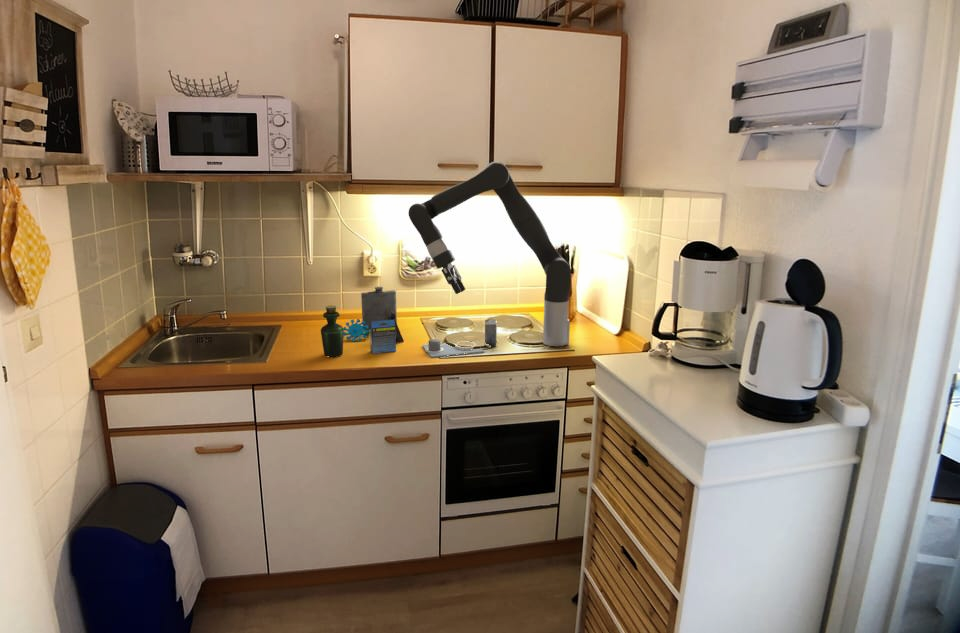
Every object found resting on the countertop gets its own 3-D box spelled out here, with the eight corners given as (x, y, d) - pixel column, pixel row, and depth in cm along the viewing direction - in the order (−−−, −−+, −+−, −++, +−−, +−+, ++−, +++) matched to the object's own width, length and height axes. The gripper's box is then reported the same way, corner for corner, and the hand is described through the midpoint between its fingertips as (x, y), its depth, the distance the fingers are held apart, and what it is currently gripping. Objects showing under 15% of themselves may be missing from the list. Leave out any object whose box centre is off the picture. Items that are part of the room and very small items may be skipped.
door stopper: (381, 344, 242) (379, 314, 239) (377, 340, 248) (376, 310, 245) (403, 342, 245) (403, 312, 242) (400, 337, 251) (399, 308, 248)
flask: (398, 328, 264) (396, 286, 259) (363, 332, 259) (362, 289, 254) (396, 326, 267) (394, 284, 262) (362, 329, 262) (360, 287, 257)
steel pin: (494, 343, 244) (494, 318, 241) (498, 347, 239) (498, 321, 237) (483, 345, 242) (483, 319, 240) (486, 348, 238) (487, 322, 236)
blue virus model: (339, 338, 244) (346, 316, 249) (341, 345, 249) (347, 323, 254) (368, 342, 244) (373, 320, 249) (369, 349, 249) (374, 327, 254)
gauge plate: (472, 342, 246) (472, 331, 245) (484, 352, 233) (484, 342, 232) (421, 346, 239) (420, 336, 238) (430, 358, 227) (429, 347, 226)
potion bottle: (348, 356, 228) (345, 307, 224) (326, 359, 224) (323, 310, 219) (340, 350, 235) (337, 303, 230) (319, 353, 231) (316, 305, 226)
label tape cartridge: (394, 348, 237) (393, 316, 234) (396, 351, 234) (395, 319, 231) (370, 350, 234) (369, 318, 231) (372, 354, 231) (370, 321, 228)
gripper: (445, 248, 226) (466, 289, 226) (453, 248, 240) (473, 285, 240) (427, 258, 227) (448, 298, 228) (436, 257, 241) (456, 294, 242)
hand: (461, 292), depth 234 cm, fingers open, 8 cm apart
